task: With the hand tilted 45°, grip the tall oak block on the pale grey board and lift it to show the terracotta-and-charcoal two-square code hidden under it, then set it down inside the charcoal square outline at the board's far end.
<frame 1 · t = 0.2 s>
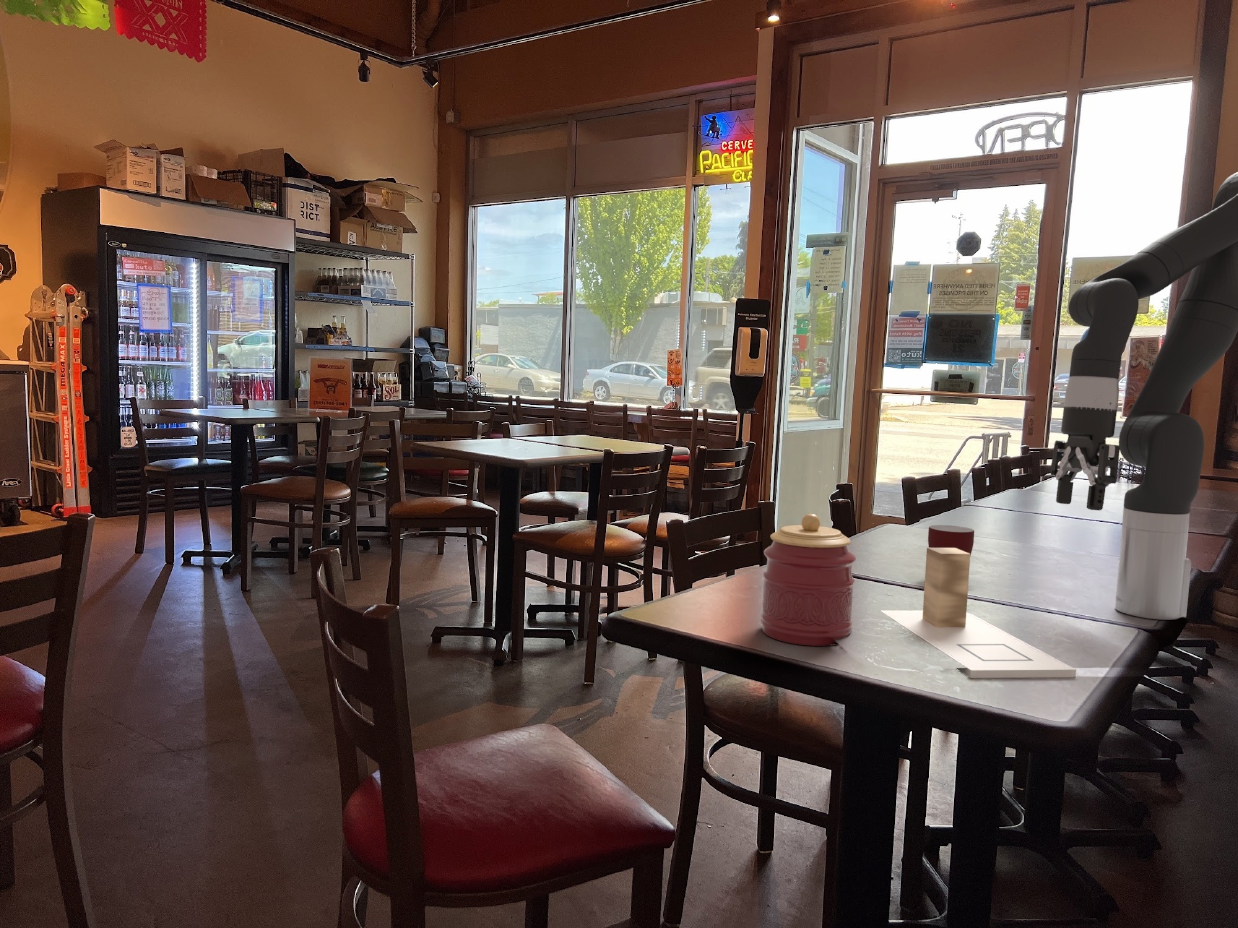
hand: (1078, 506, 137), 18 cm above the table, tool pointing down, fingers open, 8 cm apart
code board: (966, 643, 120), on the table
oak block: (943, 622, 127), point 1 cm above the table, touching code board
mug: (949, 580, 162), on the table
canister: (805, 635, 123), on the table
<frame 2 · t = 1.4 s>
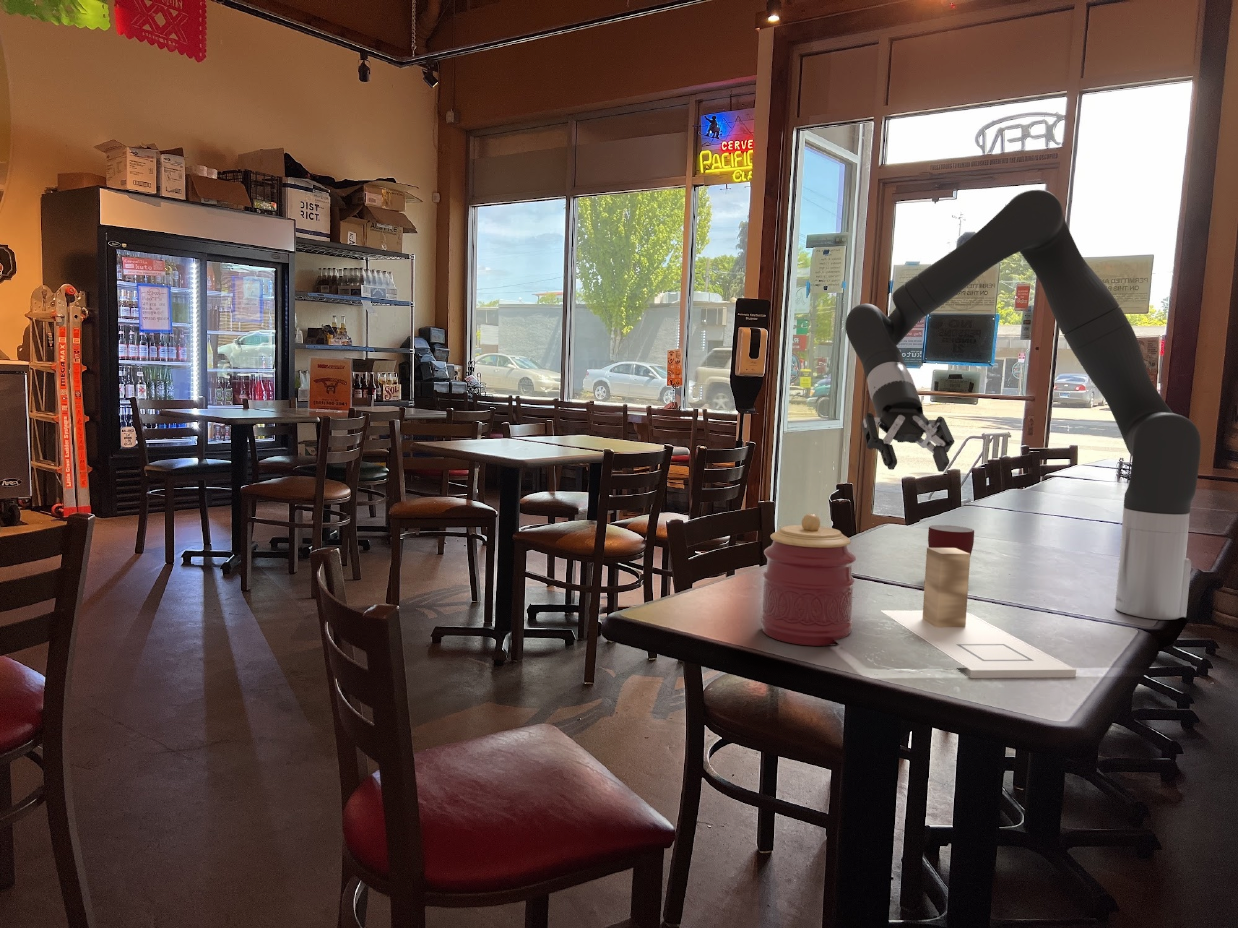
hand: (918, 467, 136), 23 cm above the table, tool tilted 45°, fingers open, 8 cm apart
nothing on the table moved.
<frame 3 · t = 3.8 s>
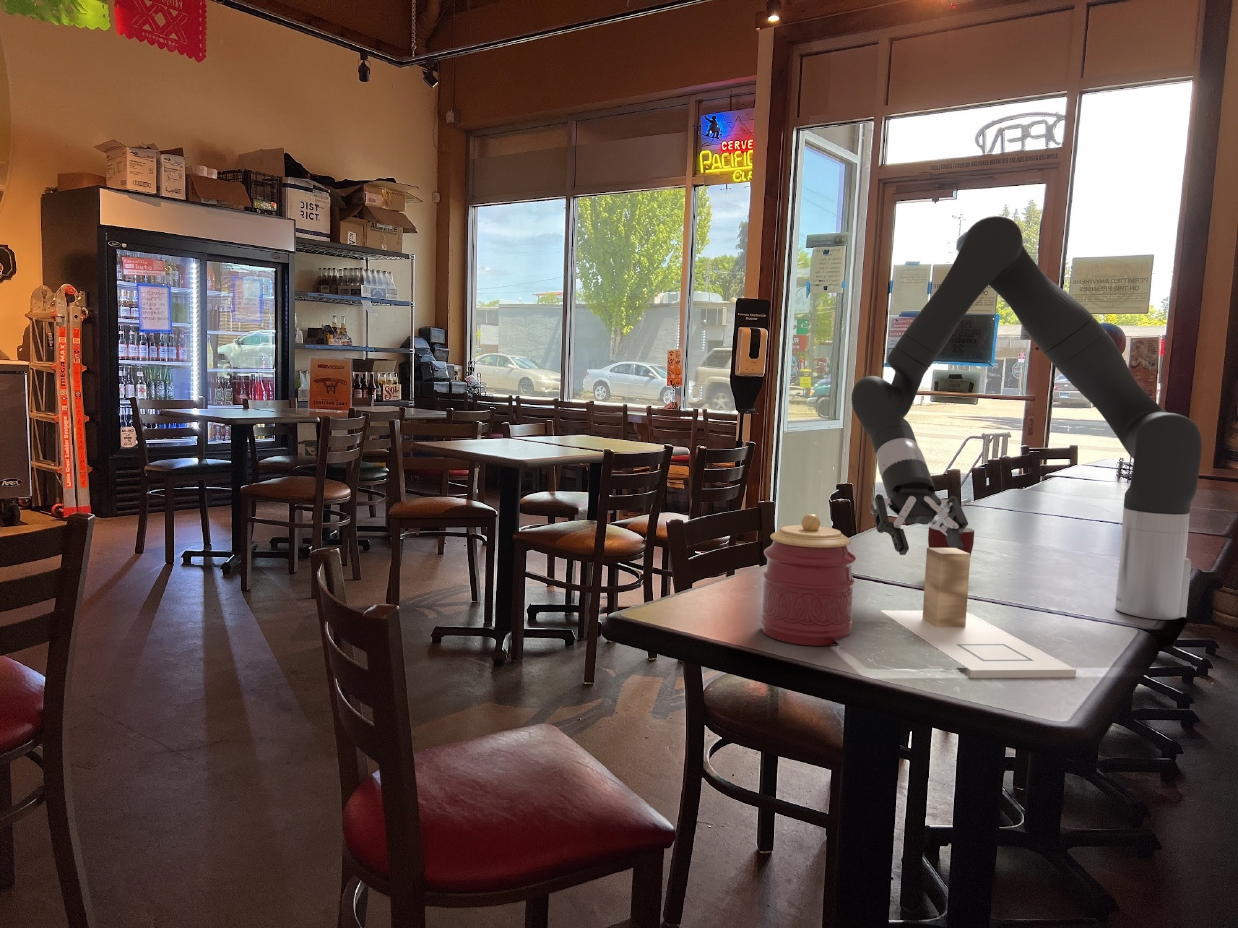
hand: (931, 552, 131), 11 cm above the table, tool tilted 45°, fingers open, 8 cm apart
nothing on the table moved.
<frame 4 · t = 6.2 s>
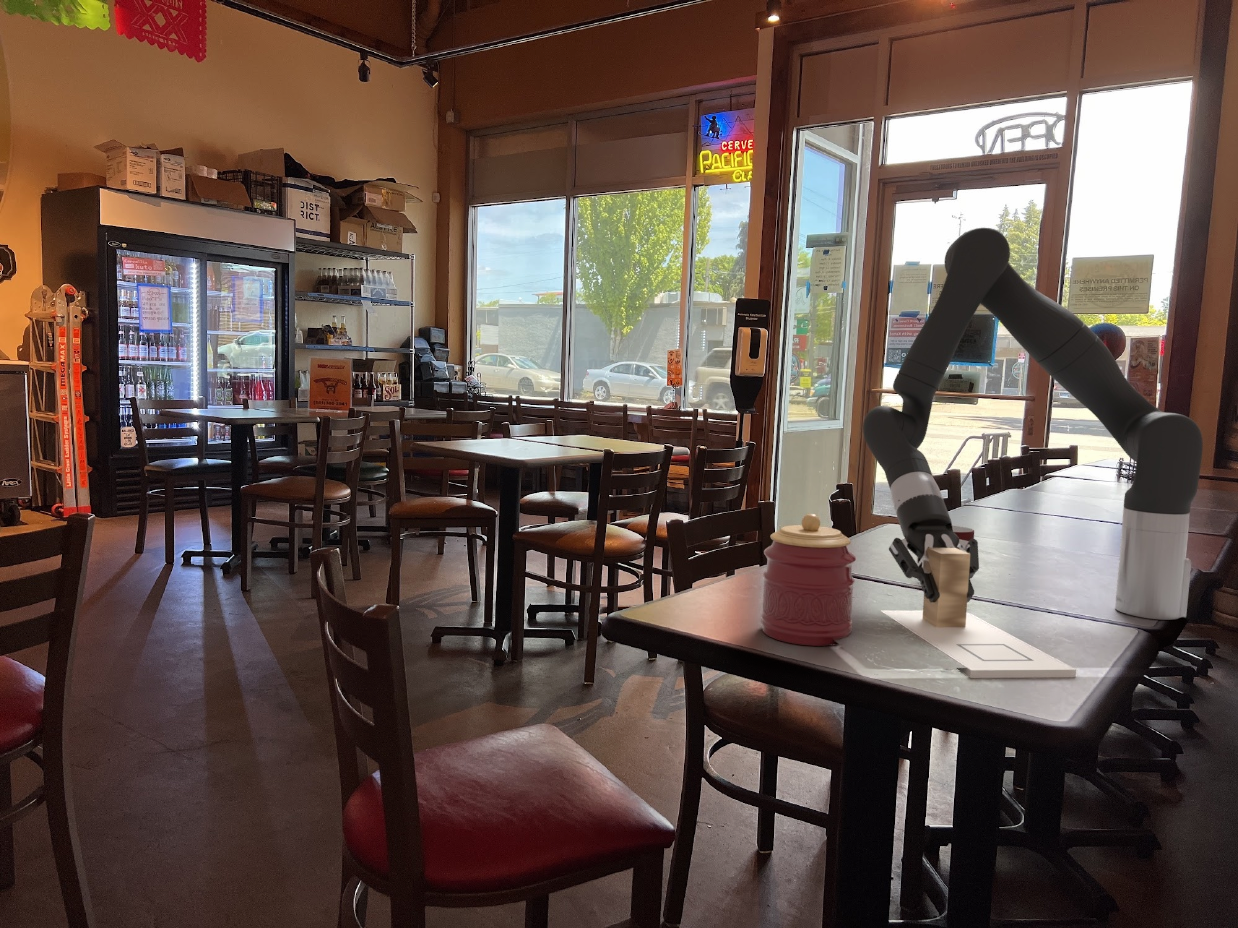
hand: (951, 599, 125), 5 cm above the table, tool tilted 45°, fingers closed on oak block, 4 cm apart
oak block: (943, 622, 127), point 1 cm above the table, touching code board, gripper
everything else where it was.
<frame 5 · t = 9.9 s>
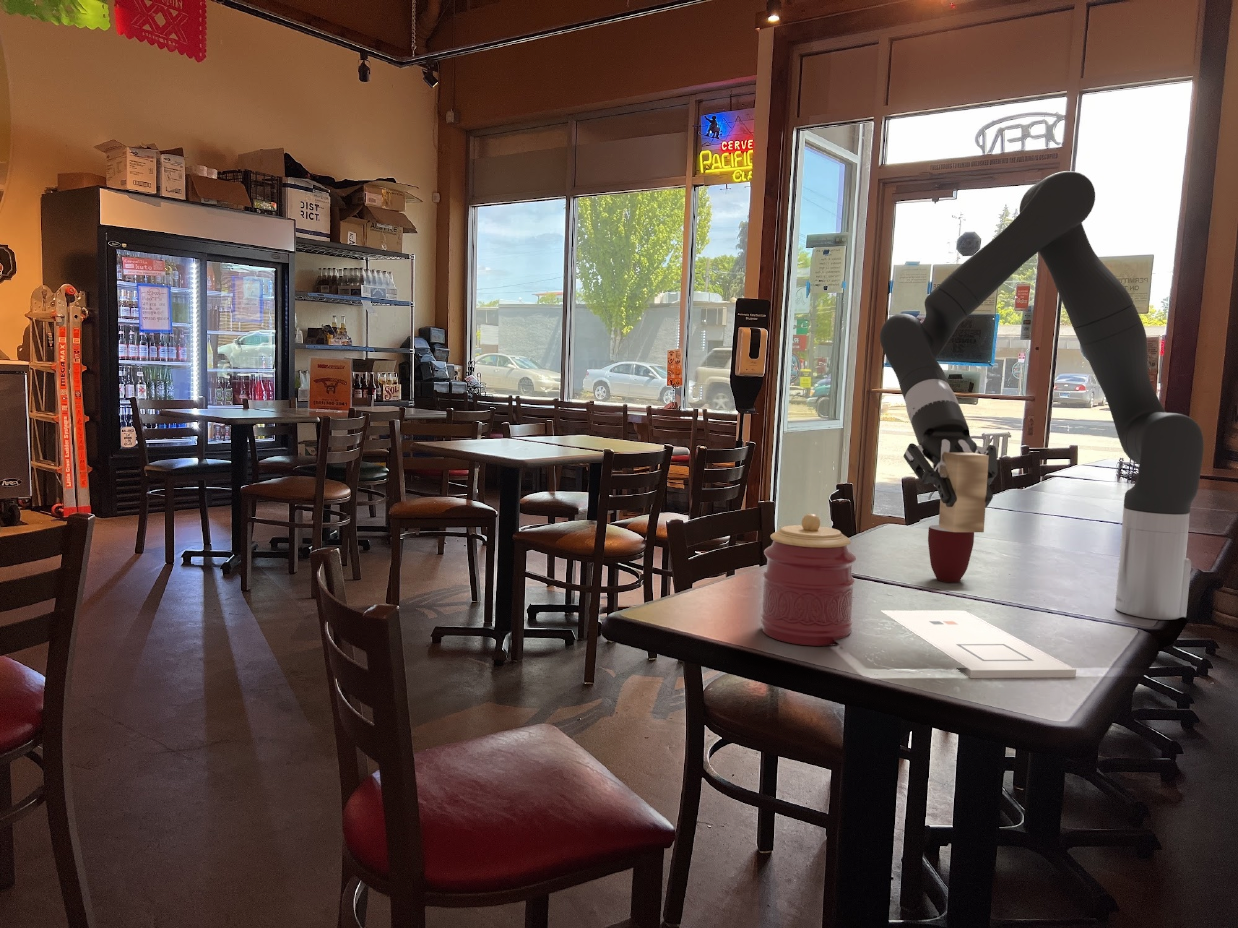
hand: (969, 503, 120), 20 cm above the table, tool tilted 45°, fingers closed on oak block, 4 cm apart
oak block: (960, 529, 122), point 16 cm above the table, touching gripper
everything else where it was.
when the fingers open (7 cm above the table, at t = 13.6 s): oak block drops 1 cm, resting on code board.
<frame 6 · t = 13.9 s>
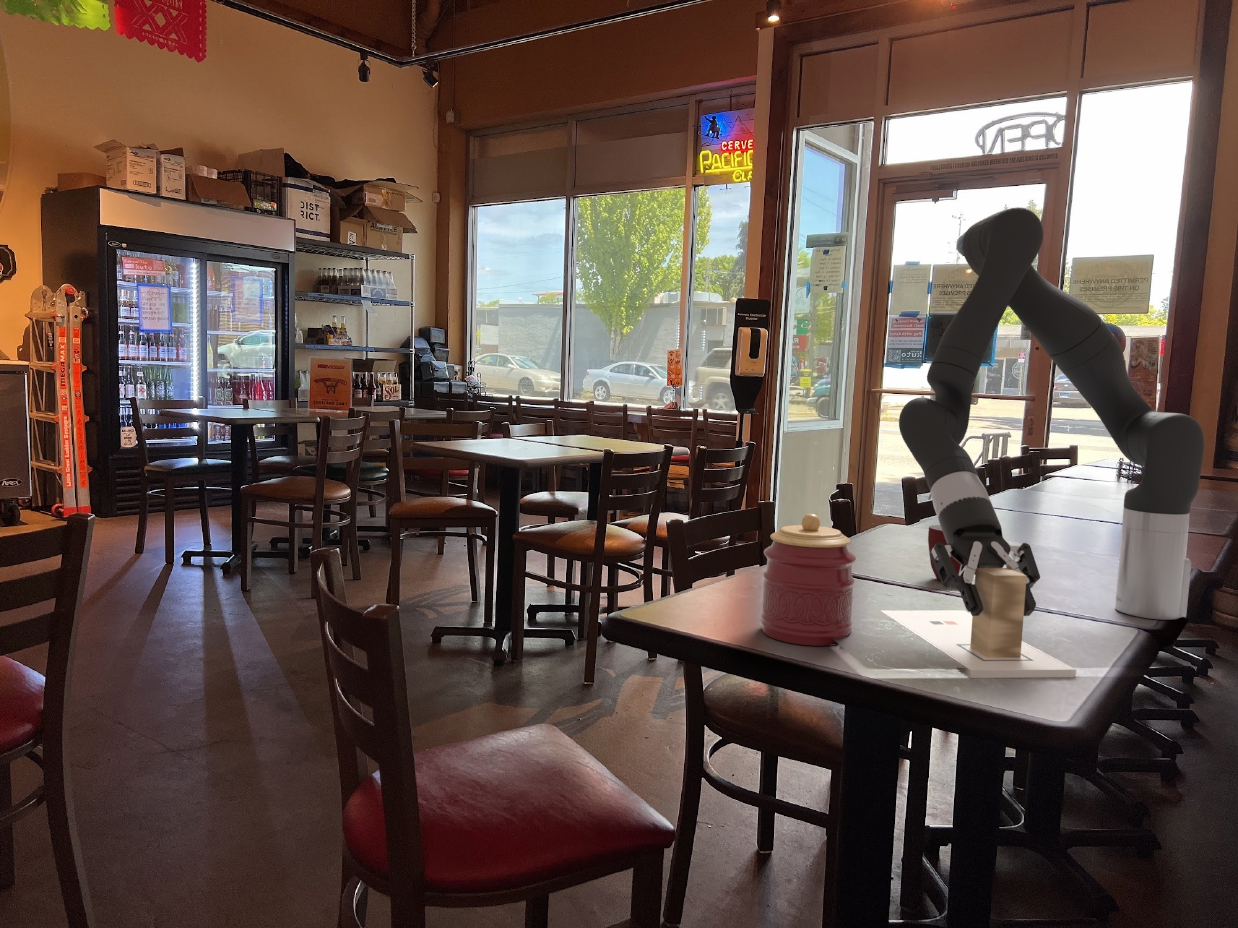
hand: (1003, 612, 111), 7 cm above the table, tool tilted 45°, fingers open, 6 cm apart
oak block: (994, 652, 113), point 1 cm above the table, touching code board
everything else where it was.
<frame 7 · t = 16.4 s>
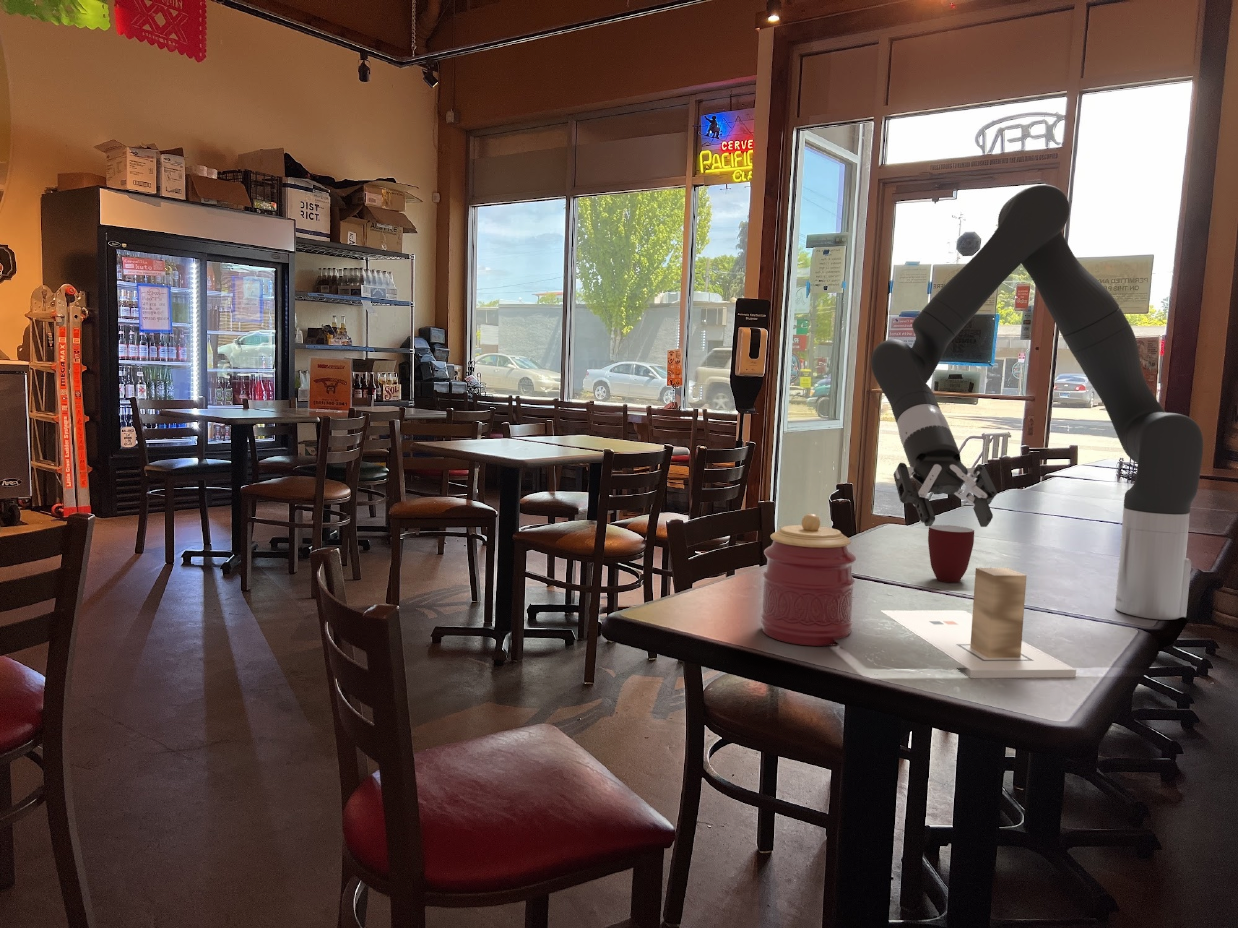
hand: (958, 523, 123), 17 cm above the table, tool tilted 45°, fingers open, 8 cm apart
nothing on the table moved.
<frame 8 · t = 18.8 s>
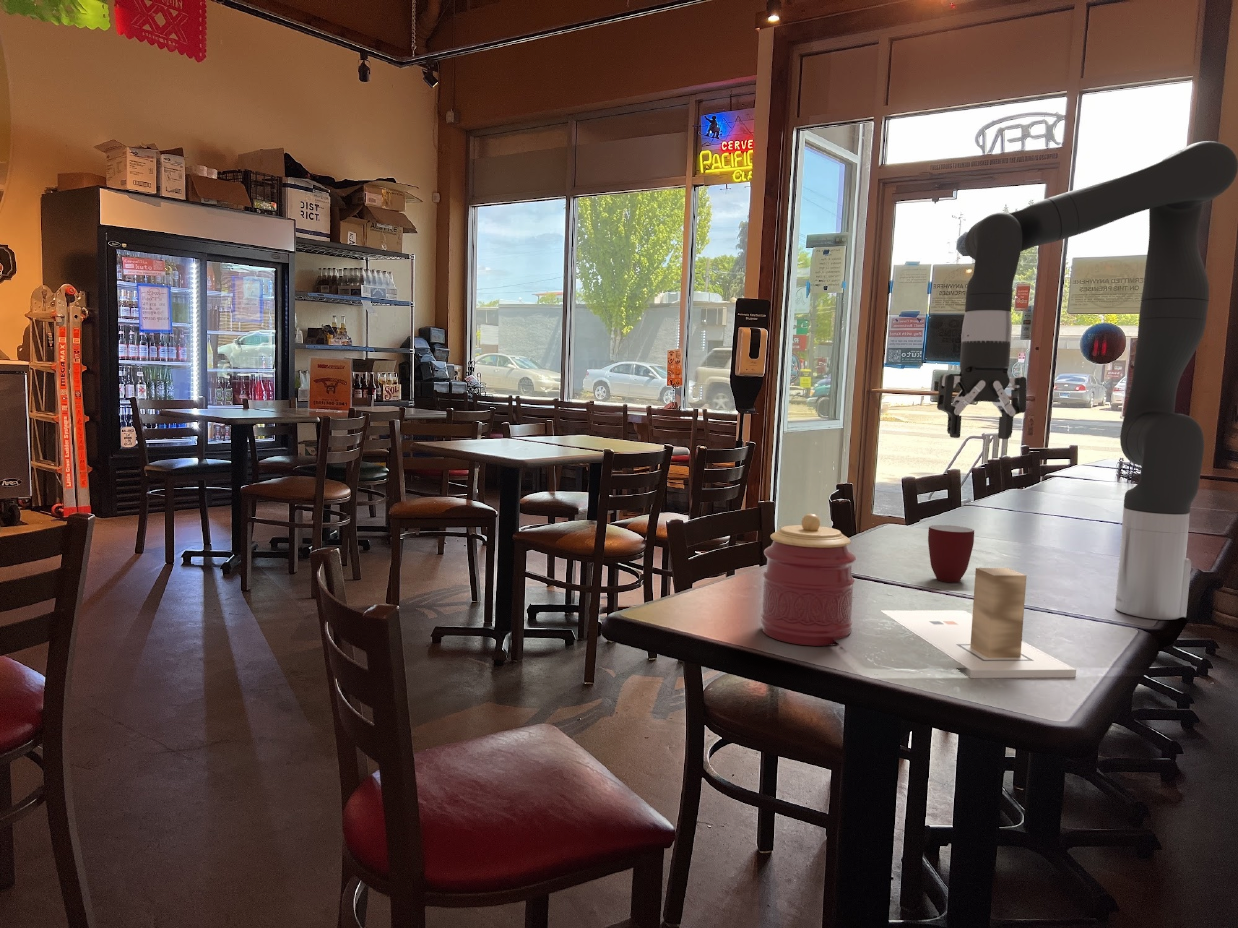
hand: (979, 438, 141), 28 cm above the table, tool pointing down, fingers open, 8 cm apart
nothing on the table moved.
at the end: oak block 0.2 cm from the target spot on the code board, point 1.0 cm above the code board's base; oak block tilted 0°; the gripper is holding nothing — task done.
